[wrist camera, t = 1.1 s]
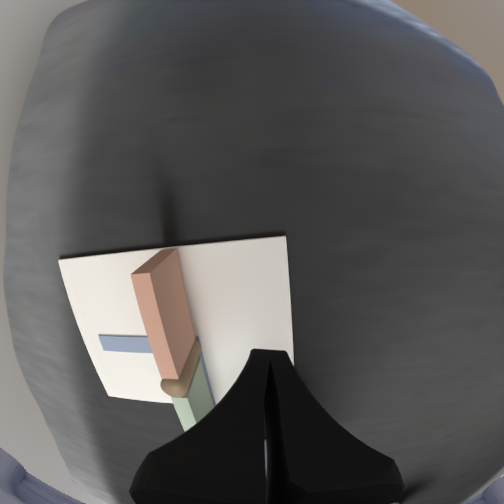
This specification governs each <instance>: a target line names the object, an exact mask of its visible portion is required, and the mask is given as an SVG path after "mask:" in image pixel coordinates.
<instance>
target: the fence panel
mask: <svg viewBox="0 0 504 504" xmlns="http://www.w3.org/2000/svg"><path fill="white" fill-rule="evenodd" d="M130 275H131V279H132V283H133V287H134V291H135V295H136V299H137V303H138V306H139V310H140V314H141V317H142V321H143V324H144V327H145V331H146V334H147V337H148V340H149V343H150V347H151V350H152V353H153V356H154V359H155V362H156V364H157V367H158V370H159V373H160V376H161V378H162V380H161V383H160V386H161V389H162V390H163V391H164V392H165V393H166V394H167V395H169V396H172V397H177V398H179V397H183V396H184V395H185V394H186V392H187V389H188V386H189V383H190V380H191V378H192V375H193V372H194V369H195V366H196V363H197V360H198V358H199V355H200V352H201V345H200V343H199V342H198V341H197V340H195V334H194V330H193V326H192V321H191V317H190V312H189V308H188V303H187V298H186V294H185V289H184V284H183V279H182V274H181V268H180V263H179V257H178V252H177V248H174V249H164V250H160V251H159V252H158V253H156V254H155V255H154V256H153V257H151V258H150V259H149V260H148V261H146V262H145V263H144V264H143V265H141V266H140V267H139V268H138V269H136V270H135V271H134V272H133V273H131V274H130Z"/></svg>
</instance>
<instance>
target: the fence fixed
mask: <svg viewBox="0 0 504 504" xmlns="http://www.w3.org/2000/svg"><path fill="white" fill-rule="evenodd" d="M171 399H172V401H173V404H174V406H175V409H176V411H177V414H178V416H179V419H180V421H181V423H182V426H183V428H184V430H185V431H187V430H188V429H190V428H191V427H192V426H194V425H195V424H196V423H197V422H199V421H200V420H201V419H202V418H203V417H204V416H205V415H206V414H208V413H209V412H210V411H211V410H212V409H213V408H214V407H215V406H214V405H213V401H212V398H211V394H210V391H209V387H208V383H207V380H206V376H205V372H204V368H203V364H202V361H201V358H198V360H197V363H196V366H195V369H194V372H193V375H192V378H191V380H190V383H189V386H188V389H187V392H186V394H185V395H184V396H183V397H179V398H177V397H172V396H171Z"/></svg>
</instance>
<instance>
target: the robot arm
mask: <svg viewBox="0 0 504 504" xmlns="http://www.w3.org/2000/svg"><path fill="white" fill-rule="evenodd" d="M264 419H265V433H266V440H264ZM403 488H404V483H403V480H402V477H401V474H400V472H399V469H398V467H397V465H396V464H395V461H394V460H393V459H391V458H390V457H388V456H386V455H384V454H382V453H380V452H378V451H376V450H374V449H372V448H371V447H369V446H367V445H366V444H364V443H363V442H361V441H360V440H358V439H357V438H356V437H354V436H353V435H352V434H350V433H349V432H348V431H347V430H345V429H344V428H343V427H342V426H341V425H339V424H338V423H337V422H336V421H335V420H334V419H333V418H332V417H331V416H330V415H329V414H328V413H327V412H326V411H325V410H324V409H323V407H322V406H321V405H320V404H319V403H318V402H317V400H316V399H315V398H314V396H313V395H312V394H311V392H310V391H309V390H308V388H307V387H306V385H305V384H304V382H303V381H302V379H301V378H300V376H299V374H298V373H297V371H296V369H295V367H294V365H293V364H292V362H291V360H290V357H289V355H288V353H287V352H286V351H285V350H269V349H255V348H254V349H252V350H251V351H250V355H249V358H248V360H247V362H246V364H245V366H244V368H243V370H242V371H241V373H240V375H239V376H238V378H237V379H236V381H235V382H234V384H233V385H232V386H231V388H230V389H229V390H228V392H227V393H226V394H225V396H224V397H223V398H222V399H221V400H220V401H219V403H218V404H217V405H216V406H215V407H214V408H213V409H212V410H211V411H210V412H209V413H208V414H206V415H205V416H204V417H203V418H202V419H201V420H200V421H199V422H197V423H196V424H195V425H194V426H192V427H191V428H190V429H188V430H187V431H185V432H184V433H182V434H181V435H180V436H178V437H177V438H175V439H173V440H172V441H170V442H168V443H166V444H165V445H163V446H161V447H159V448H157V449H155V450H153V451H151V452H149V454H148V455H147V456H146V458H145V459H144V461H143V462H142V464H141V465H140V467H139V469H138V470H137V472H136V474H135V477H134V479H133V482H132V485H131V487H130V490H129V493H130V495H131V497H132V499H133V500H134V502H135V503H136V504H390V503H391V502H392V501H393V500H395V499H396V498H397V497H398V495H399V494H400V493H401V492H402V490H403ZM0 504H85V503H82V502H80V501H78V500H76V499H74V498H72V497H70V496H68V495H66V494H63V493H62V492H60V491H58V490H56V489H55V488H53V487H51V486H49V485H47V484H46V483H44V482H42V481H41V480H39V479H37V478H36V477H34V476H32V475H31V474H29V473H28V472H26V470H25V469H24V467H23V466H22V465H21V464H20V463H19V462H18V461H17V460H16V459H15V458H14V457H12V456H11V455H10V454H8V453H7V452H5V451H4V450H3V449H1V448H0ZM461 504H504V476H503V477H501V478H499V479H498V480H496V481H495V482H493V483H492V484H491V485H490V486H488V487H487V488H486V489H485V490H484V491H483V493H481V494H480V495H478V496H476V497H474V498H472V499H470V500H468V501H466V502H463V503H461Z"/></svg>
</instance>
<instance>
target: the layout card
mask: <svg viewBox="0 0 504 504" xmlns="http://www.w3.org/2000/svg"><path fill="white" fill-rule="evenodd" d="M174 248H177V252H178V257H179V263H180V268H181V274H182V279H183V284H184V289H185V294H186V298H187V303H188V308H189V312H190V317H191V321H192V326H193V330H194V334H195V340H197V341H198V342H199V343H200V345H201V352H200V355H199V358H201V361H202V364H203V368H204V372H205V376H206V380H207V383H208V387H209V391H210V394H211V398H212V401H213V405H214V406H216V405H217V404H218V403H219V401H220V400H221V399H222V398H223V397H224V396H225V394H226V393H227V392H228V390H229V389H230V388H231V386H232V385H233V384H234V382H235V381H236V379H237V378H238V376H239V375H240V373H241V371H242V370H243V368H244V366H245V364H246V362H247V360H248V358H249V355H250V351H251V350H252V349H254V348H255V349H269V350H285V351H286V352H287V353H288V355H289V357H290V360H291V362H292V364H293V365H294V355H293V335H292V316H291V300H290V285H289V270H288V257H287V244H286V236H276V237H265V238H255V239H244V240H234V241H223V242H213V243H203V244H194V245H184V246H174V247H165V248H155V249H146V250H137V251H128V252H119V253H110V254H101V255H92V256H84V257H75V258H67V259H60V260H58V262H59V266H60V269H61V273H62V277H63V280H64V284H65V287H66V291H67V294H68V297H69V300H70V303H71V306H72V309H73V312H74V315H75V318H76V321H77V324H78V327H79V329H80V332H81V335H82V337H83V340H84V342H85V345H86V347H87V350H88V352H89V354H90V357H91V359H92V361H93V364H94V366H95V368H96V370H97V373H98V375H99V377H100V379H101V381H102V383H103V385H104V387H105V389H106V391H107V393H108V395H109V396H113V397H119V398H127V399H135V400H143V401H153V402H164V403H173V401H172V399H171V396H169V395H167V394H166V393H165V392H164V391H163V390H162V389H161V386H160V383H161V380H162V378H161V376H160V373H159V370H158V367H157V364H156V362H155V359H154V356H153V353H152V350H151V347H150V343H149V340H148V337H147V334H146V331H145V327H144V324H143V321H142V317H141V314H140V310H139V306H138V303H137V299H136V295H135V291H134V287H133V283H132V279H131V275H130V274H131V273H133V272H134V271H135V270H136V269H138V268H139V267H140V266H141V265H143V264H144V263H145V262H146V261H148V260H149V259H150V258H151V257H153V256H154V255H155V254H156V253H158V252H159V251H160V250H164V249H174Z"/></svg>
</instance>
